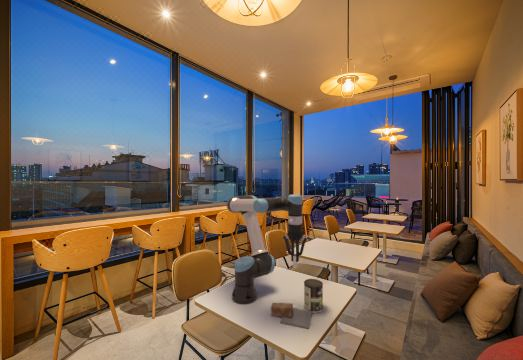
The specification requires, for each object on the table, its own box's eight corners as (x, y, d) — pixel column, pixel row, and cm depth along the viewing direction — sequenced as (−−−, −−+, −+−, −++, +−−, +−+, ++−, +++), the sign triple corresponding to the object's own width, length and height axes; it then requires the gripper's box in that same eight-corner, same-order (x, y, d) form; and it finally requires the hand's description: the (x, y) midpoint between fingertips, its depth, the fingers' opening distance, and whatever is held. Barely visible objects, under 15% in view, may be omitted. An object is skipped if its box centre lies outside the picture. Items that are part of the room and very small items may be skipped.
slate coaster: (280, 323, 115) (280, 321, 115) (286, 308, 128) (286, 306, 128) (308, 329, 111) (308, 327, 111) (312, 313, 124) (312, 311, 124)
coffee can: (325, 306, 130) (325, 281, 130) (319, 315, 122) (319, 288, 122) (308, 300, 136) (308, 277, 136) (301, 309, 127) (301, 283, 127)
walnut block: (291, 316, 118) (271, 315, 122) (293, 312, 122) (273, 310, 126) (290, 307, 118) (270, 306, 122) (292, 303, 122) (272, 302, 126)
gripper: (281, 224, 122) (281, 268, 122) (306, 225, 117) (306, 271, 118) (285, 221, 129) (285, 263, 129) (308, 223, 124) (308, 266, 125)
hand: (295, 267), depth 123 cm, fingers closed
